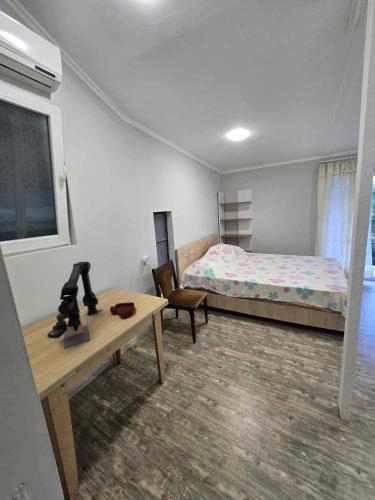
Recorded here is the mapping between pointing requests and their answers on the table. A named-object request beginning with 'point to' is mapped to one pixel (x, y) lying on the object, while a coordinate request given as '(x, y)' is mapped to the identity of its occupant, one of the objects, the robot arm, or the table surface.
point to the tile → (72, 332)
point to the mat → (76, 338)
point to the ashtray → (123, 309)
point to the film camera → (58, 329)
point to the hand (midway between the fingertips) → (76, 329)
